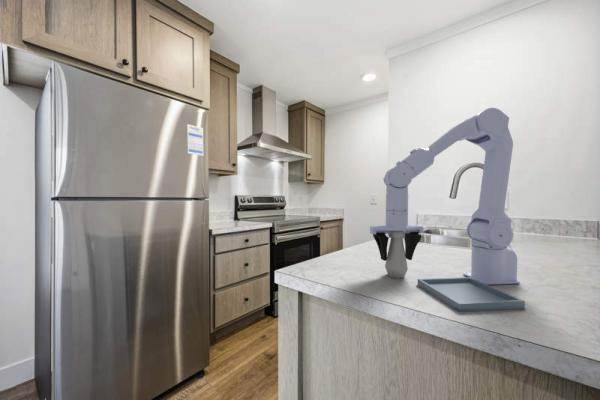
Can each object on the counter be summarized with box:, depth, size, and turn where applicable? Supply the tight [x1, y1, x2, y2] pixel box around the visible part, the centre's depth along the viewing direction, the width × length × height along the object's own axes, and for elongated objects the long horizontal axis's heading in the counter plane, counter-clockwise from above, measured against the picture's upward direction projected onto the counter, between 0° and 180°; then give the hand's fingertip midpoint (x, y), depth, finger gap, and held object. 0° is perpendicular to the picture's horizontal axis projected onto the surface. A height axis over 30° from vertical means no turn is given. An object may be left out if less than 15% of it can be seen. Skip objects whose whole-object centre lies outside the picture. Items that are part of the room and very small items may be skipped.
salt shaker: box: [384, 231, 409, 279], centre depth 68 cm, size 6×6×13 cm
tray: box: [417, 276, 526, 313], centre depth 55 cm, size 14×14×2 cm
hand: (396, 259), depth 68 cm, fingers open, 7 cm apart
